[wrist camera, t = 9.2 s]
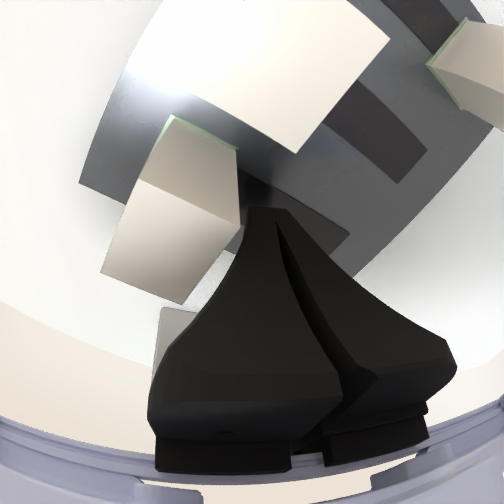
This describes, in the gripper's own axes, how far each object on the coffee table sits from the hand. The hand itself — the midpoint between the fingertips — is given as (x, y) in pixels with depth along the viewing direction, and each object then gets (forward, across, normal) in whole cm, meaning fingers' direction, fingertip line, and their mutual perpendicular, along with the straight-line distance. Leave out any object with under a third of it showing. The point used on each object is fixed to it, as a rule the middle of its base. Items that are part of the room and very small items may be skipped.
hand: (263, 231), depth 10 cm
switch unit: (+3, -2, -5) cm, 6 cm away
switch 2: (+1, +1, -6) cm, 6 cm away
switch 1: (+1, +3, -1) cm, 3 cm away
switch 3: (+1, -7, -8) cm, 11 cm away
